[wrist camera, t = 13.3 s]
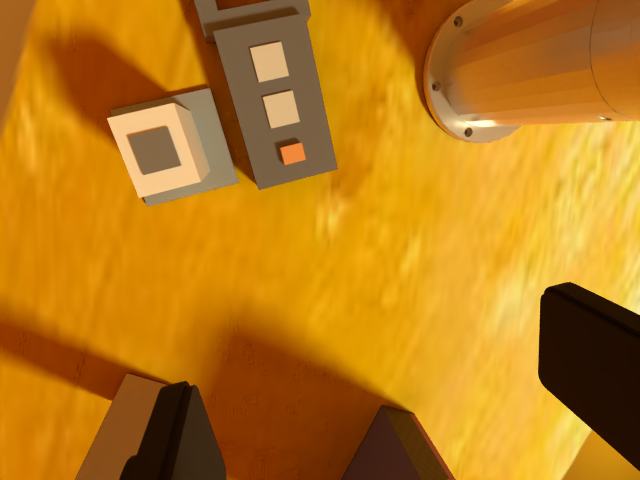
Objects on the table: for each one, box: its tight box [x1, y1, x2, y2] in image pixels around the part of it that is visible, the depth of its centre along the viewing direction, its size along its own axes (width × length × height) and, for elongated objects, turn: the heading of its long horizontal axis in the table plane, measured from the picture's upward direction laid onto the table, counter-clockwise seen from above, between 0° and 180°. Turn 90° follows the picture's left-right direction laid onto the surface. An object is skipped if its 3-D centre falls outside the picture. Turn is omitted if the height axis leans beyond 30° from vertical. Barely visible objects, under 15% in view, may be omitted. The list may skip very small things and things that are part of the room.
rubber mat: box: [109, 88, 239, 207], centre depth 30 cm, size 8×8×1 cm
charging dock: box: [194, 0, 338, 190], centre depth 28 cm, size 8×21×4 cm, turn 13°
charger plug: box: [107, 103, 210, 198], centre depth 26 cm, size 4×5×8 cm
